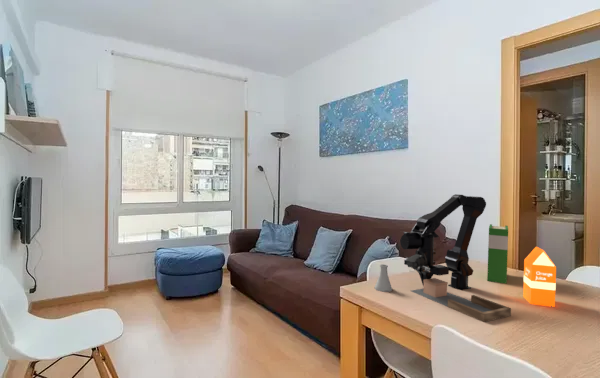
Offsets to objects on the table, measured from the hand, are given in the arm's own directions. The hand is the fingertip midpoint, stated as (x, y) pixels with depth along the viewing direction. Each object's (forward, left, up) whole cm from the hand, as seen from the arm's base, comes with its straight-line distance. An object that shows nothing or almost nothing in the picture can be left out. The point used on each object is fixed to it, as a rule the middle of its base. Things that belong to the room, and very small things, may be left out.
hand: (424, 286), depth 134 cm
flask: (+15, -7, -2) cm, 17 cm away
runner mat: (0, +15, -2) cm, 15 cm away
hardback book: (-47, -1, -2) cm, 47 cm away
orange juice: (-31, +26, -2) cm, 40 cm away
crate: (0, +5, -1) cm, 5 cm away
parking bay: (0, +24, -1) cm, 24 cm away
